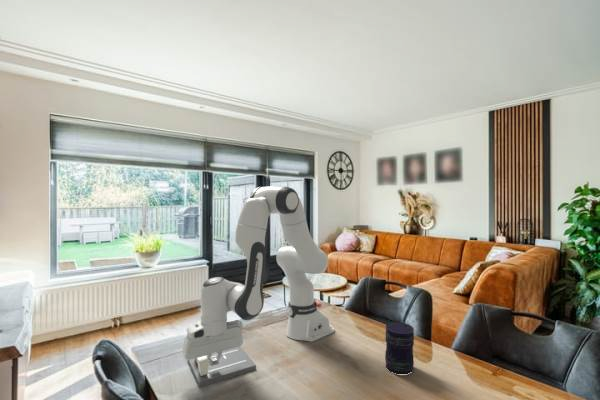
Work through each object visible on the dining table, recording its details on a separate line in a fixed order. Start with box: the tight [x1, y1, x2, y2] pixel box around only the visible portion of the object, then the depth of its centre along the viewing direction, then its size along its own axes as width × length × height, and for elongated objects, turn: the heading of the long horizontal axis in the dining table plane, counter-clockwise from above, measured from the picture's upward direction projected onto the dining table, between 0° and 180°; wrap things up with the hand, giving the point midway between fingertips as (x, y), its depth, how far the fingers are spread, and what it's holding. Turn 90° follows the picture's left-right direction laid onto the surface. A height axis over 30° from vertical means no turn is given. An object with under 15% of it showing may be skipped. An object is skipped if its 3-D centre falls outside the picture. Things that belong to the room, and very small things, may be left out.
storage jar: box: [384, 321, 415, 374], centre depth 114 cm, size 10×10×15 cm
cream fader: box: [197, 356, 209, 376], centre depth 108 cm, size 3×4×5 cm
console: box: [187, 346, 257, 388], centre depth 115 cm, size 20×18×2 cm
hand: (214, 364), depth 110 cm, fingers closed
